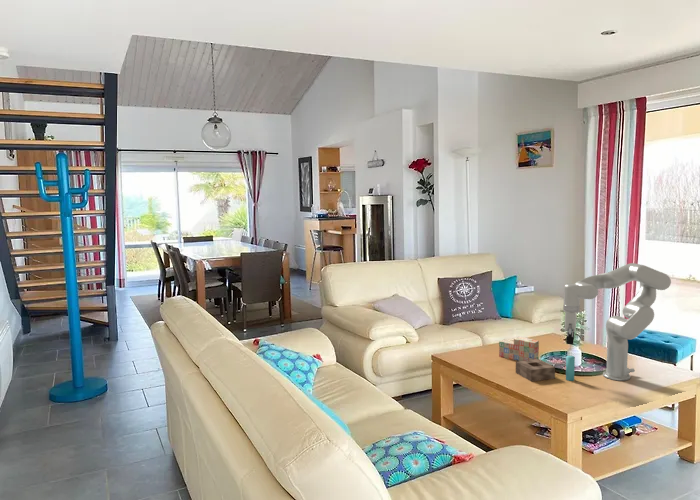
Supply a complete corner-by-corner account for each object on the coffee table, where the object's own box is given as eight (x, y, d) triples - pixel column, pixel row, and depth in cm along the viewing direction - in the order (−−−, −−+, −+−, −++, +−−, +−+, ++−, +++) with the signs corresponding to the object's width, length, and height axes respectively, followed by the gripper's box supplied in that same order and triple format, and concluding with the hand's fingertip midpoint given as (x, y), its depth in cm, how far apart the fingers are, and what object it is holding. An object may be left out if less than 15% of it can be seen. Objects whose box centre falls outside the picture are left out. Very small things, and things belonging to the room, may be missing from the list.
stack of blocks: (498, 356, 312) (499, 336, 310) (503, 354, 316) (503, 334, 315) (534, 364, 297) (534, 342, 296) (538, 361, 302) (539, 340, 300)
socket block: (538, 369, 287) (538, 359, 286) (554, 378, 274) (555, 367, 273) (515, 372, 283) (515, 361, 283) (531, 381, 270) (531, 370, 269)
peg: (570, 377, 274) (571, 355, 272) (575, 380, 270) (576, 357, 269) (564, 378, 273) (564, 356, 271) (569, 381, 269) (569, 358, 268)
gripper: (564, 304, 277) (563, 336, 279) (562, 311, 261) (561, 345, 263) (579, 305, 274) (578, 338, 275) (579, 312, 258) (577, 346, 260)
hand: (570, 341), depth 269 cm, fingers open, 9 cm apart
